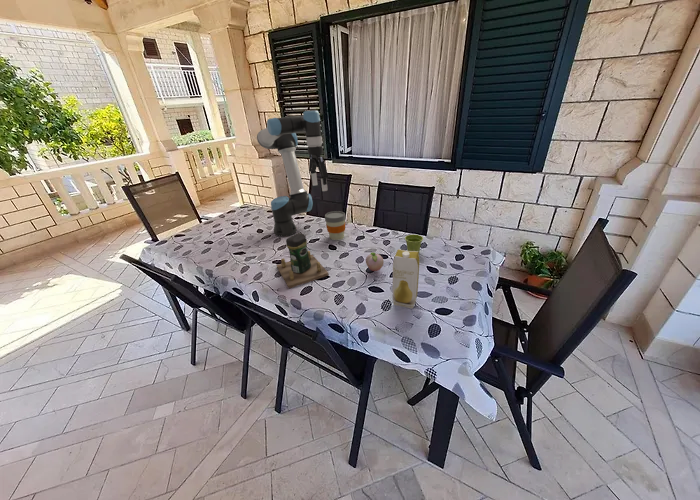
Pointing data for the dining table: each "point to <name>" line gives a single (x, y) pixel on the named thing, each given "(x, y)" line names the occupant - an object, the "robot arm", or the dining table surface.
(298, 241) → the coffee jar
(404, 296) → the juice carton
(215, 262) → the dining table surface
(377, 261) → the decorative fruit
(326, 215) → the reusable coffee cup
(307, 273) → the standoff base
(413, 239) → the plant pot
